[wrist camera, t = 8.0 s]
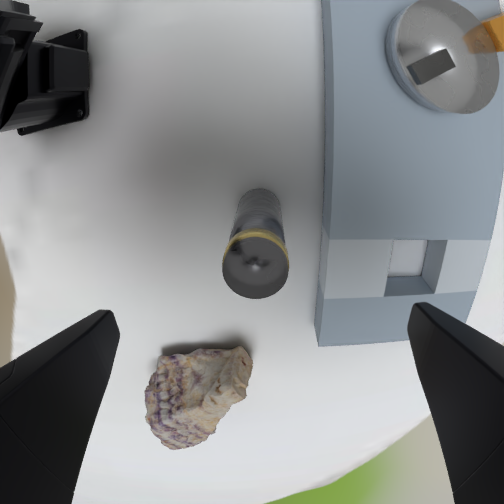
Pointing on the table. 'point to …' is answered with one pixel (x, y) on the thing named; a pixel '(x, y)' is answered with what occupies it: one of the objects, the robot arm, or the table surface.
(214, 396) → the mineral specimen
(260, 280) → the pin
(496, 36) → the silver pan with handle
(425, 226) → the plate
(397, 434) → the table surface
